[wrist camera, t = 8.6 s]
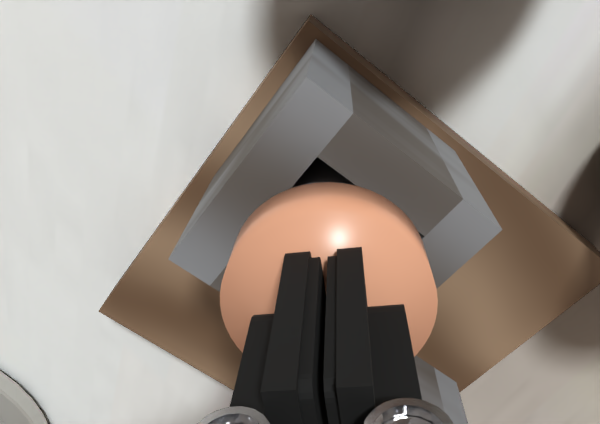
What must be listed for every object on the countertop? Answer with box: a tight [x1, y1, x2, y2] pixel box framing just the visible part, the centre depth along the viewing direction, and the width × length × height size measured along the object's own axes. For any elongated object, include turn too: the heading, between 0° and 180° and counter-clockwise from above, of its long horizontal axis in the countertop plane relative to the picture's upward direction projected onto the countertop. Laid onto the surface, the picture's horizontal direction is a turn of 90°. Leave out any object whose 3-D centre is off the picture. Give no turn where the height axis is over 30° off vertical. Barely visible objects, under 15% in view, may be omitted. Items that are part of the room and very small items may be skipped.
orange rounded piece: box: [220, 158, 438, 357], centre depth 14 cm, size 5×5×6 cm
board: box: [99, 15, 600, 424], centre depth 20 cm, size 16×16×8 cm
